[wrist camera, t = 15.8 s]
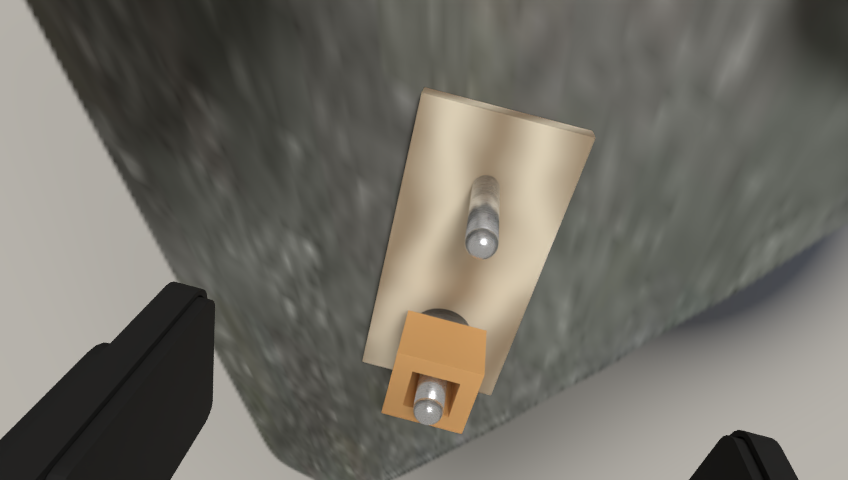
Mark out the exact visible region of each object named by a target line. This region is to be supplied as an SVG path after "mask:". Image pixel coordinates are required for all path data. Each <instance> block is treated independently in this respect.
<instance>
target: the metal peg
mask: <svg viewBox="0 0 848 480" xmlns="http://www.w3.org/2000/svg"><path fill="white" fill-rule="evenodd" d="M421 314H425V315H429V316H433V317H436V318H440V319H444V320H448V321H452V322H455V323H459V324H463V325H467V326H469V325H468V323H467V321H466V320H465V319H464V318H463V317H462V316H460V315H459V314H457V313H456V312H453V311H451V310H447V309H441V308H435V309H429V310H426V311H424V312H422V313H421ZM446 389H447V380H443V379H439V378H435V377H432V376H428V375H424V374H419V379H418V385H417V390H416V395H415V400H414V405H413V413H414V416H415V418H416V419H417V420H418V421H419V422H420V423H422V424H424V425H433V424H435V423H437V422H438V421H439V420H440V419H441V417H442V415H443V412H444V404H445V397H446Z"/></svg>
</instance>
